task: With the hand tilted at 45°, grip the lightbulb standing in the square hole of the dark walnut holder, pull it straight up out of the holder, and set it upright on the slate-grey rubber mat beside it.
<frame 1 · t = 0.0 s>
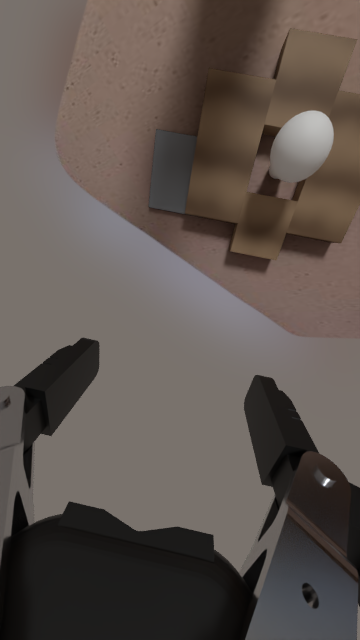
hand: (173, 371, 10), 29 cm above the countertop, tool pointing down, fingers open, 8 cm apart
lightbulb: (275, 170, 30), resting in walnut holder
slate mat: (180, 176, 31), on the countertop
walnut holder: (275, 170, 30), on the countertop
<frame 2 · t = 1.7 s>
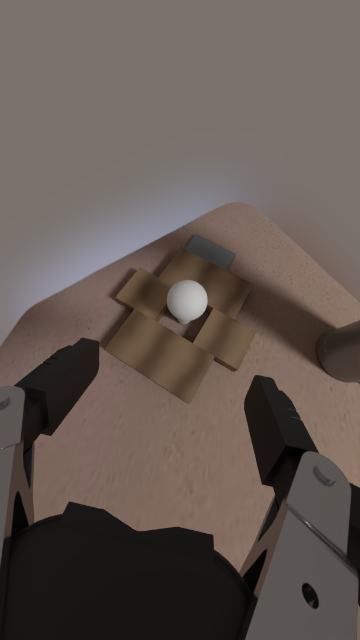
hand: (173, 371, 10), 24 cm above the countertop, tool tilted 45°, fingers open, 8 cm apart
lightbulb: (183, 319, 37), resting in walnut holder
slate mat: (205, 260, 42), on the countertop
walnut holder: (183, 319, 37), on the countertop
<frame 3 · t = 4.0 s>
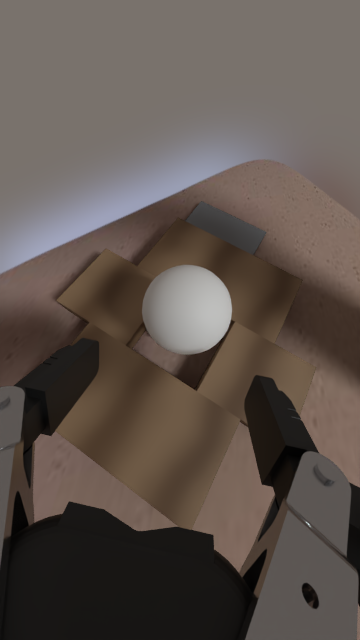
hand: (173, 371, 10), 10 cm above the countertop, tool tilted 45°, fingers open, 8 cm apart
lightbulb: (180, 340, 21), resting in walnut holder
slate mat: (216, 241, 26), on the countertop
walnut holder: (180, 339, 21), on the countertop
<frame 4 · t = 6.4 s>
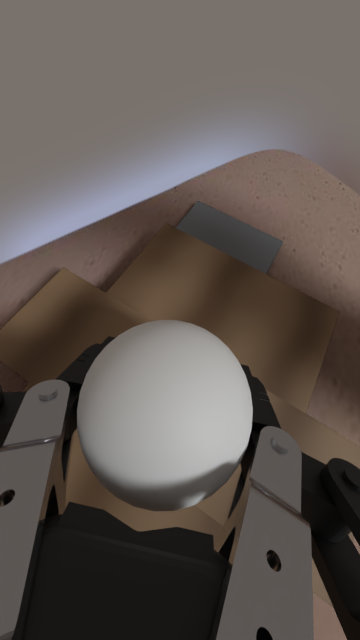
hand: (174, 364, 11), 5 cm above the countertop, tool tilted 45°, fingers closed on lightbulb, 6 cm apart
lightbulb: (168, 397, 15), resting in walnut holder, touching gripper
slate mat: (218, 253, 20), on the countertop
walnut holder: (168, 397, 15), on the countertop
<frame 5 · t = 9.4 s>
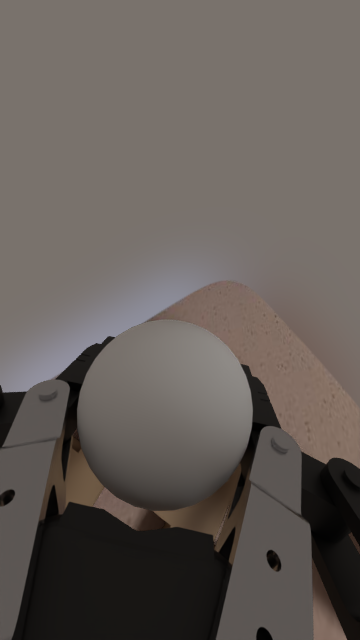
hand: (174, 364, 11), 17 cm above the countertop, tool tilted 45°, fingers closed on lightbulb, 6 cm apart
lightbulb: (168, 397, 15), point 12 cm above the countertop, touching gripper
walnut holder: (121, 527, 21), on the countertop
when the fingers open (7 cm above the countertop, at t = 12.2 s): lightbulb drops 1 cm, resting on slate mat.
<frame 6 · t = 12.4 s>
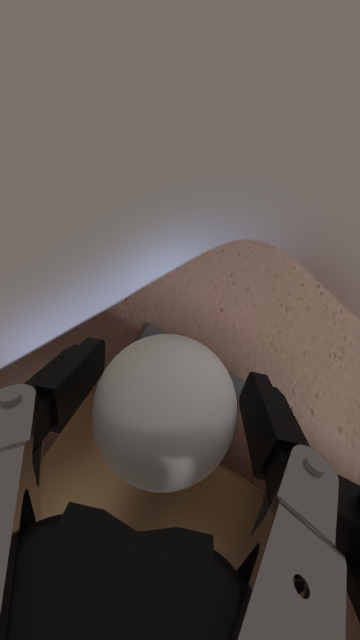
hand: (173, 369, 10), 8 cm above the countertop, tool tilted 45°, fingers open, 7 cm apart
lightbulb: (169, 398, 16), resting on slate mat
slate mat: (168, 397, 17), on the countertop
walnut holder: (84, 638, 12), on the countertop
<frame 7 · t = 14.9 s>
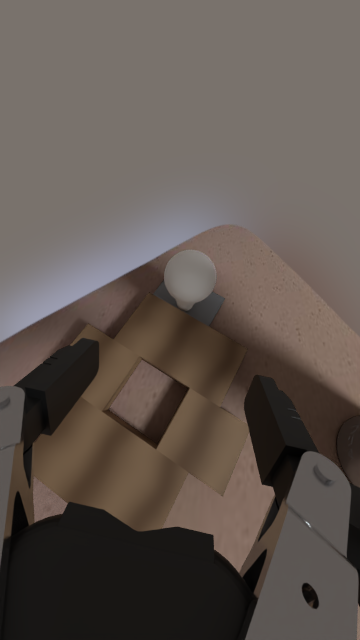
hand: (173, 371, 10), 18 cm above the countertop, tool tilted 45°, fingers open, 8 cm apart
lightbulb: (184, 306, 31), resting on slate mat
slate mat: (183, 306, 31), on the countertop
walnut holder: (149, 398, 26), on the countertop
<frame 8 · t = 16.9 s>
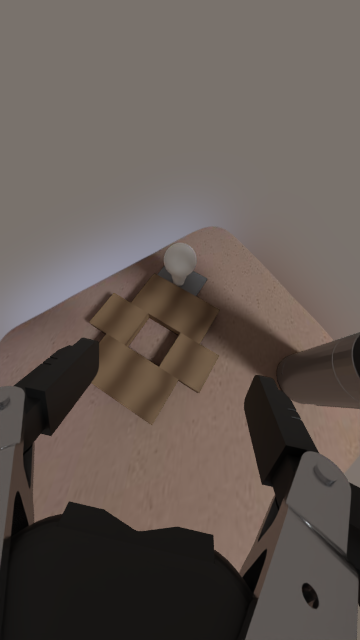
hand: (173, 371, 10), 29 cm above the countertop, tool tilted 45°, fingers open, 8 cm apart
lightbulb: (178, 283, 44), resting on slate mat
slate mat: (177, 284, 45), on the countertop
walnut holder: (154, 342, 40), on the countertop
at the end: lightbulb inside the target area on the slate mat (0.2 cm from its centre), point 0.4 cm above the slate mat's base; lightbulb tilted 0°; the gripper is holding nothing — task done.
